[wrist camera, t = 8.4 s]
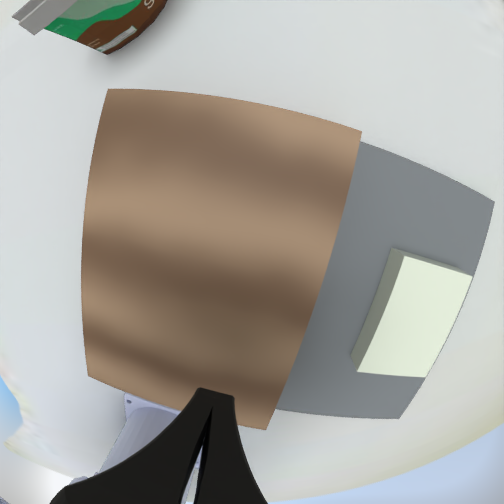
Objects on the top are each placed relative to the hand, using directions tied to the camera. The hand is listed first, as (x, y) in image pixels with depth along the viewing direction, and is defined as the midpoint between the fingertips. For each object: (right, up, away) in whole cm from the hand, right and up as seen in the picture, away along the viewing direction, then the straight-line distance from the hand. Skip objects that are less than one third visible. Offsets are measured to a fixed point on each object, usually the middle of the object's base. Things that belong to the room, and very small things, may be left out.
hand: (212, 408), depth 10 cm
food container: (-6, +25, +4) cm, 26 cm away
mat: (+11, +2, +8) cm, 14 cm away
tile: (+12, +1, +6) cm, 14 cm away
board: (-2, +5, +9) cm, 10 cm away
